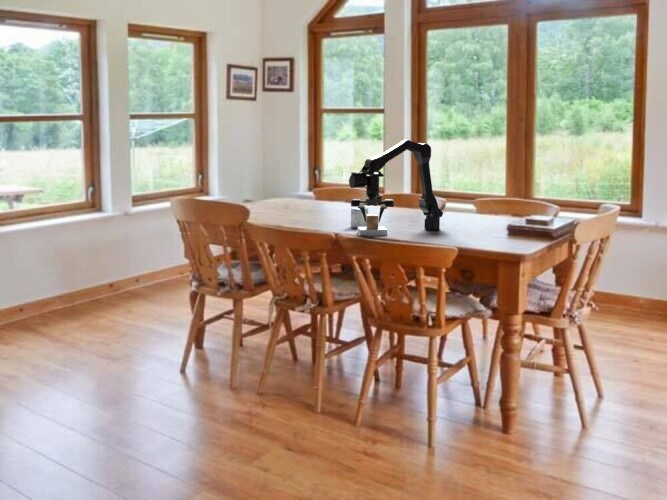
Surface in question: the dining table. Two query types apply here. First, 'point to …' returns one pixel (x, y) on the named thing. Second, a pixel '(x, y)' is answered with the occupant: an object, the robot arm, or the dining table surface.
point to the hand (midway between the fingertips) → (372, 222)
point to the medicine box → (358, 218)
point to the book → (372, 231)
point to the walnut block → (372, 221)
